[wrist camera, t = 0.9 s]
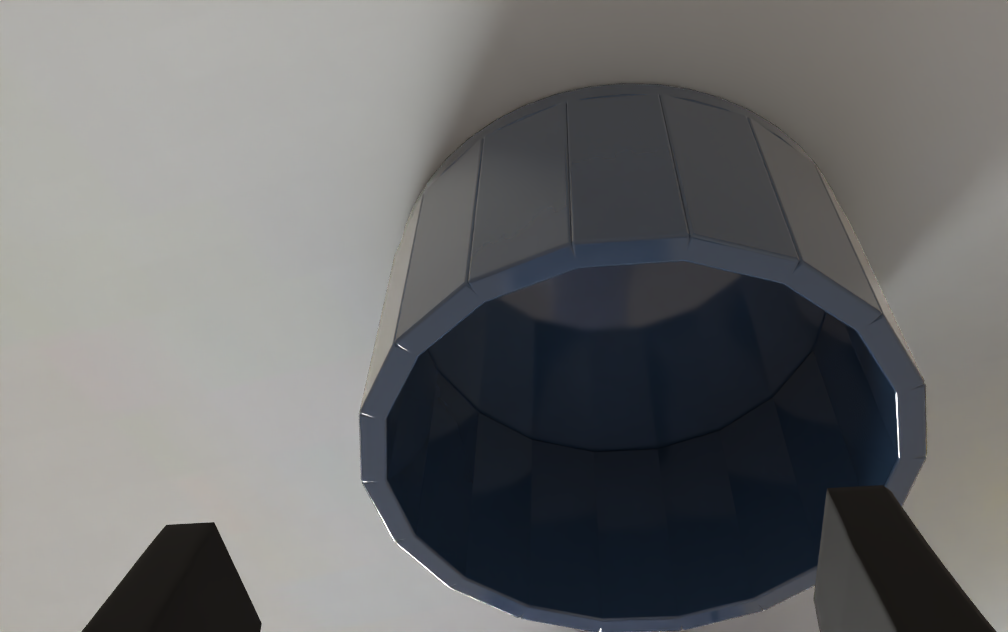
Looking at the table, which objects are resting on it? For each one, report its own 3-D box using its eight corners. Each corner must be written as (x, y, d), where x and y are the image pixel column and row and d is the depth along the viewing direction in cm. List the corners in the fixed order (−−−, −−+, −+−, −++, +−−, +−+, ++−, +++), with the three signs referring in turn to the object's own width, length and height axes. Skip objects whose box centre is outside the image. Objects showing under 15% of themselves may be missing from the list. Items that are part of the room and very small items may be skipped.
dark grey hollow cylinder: (894, 372, 23) (977, 561, 18) (512, 488, 26) (504, 674, 21) (776, -5, 17) (854, 135, 13) (308, 197, 20) (244, 366, 16)
